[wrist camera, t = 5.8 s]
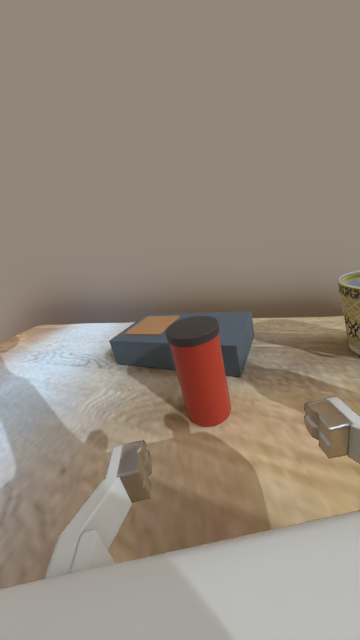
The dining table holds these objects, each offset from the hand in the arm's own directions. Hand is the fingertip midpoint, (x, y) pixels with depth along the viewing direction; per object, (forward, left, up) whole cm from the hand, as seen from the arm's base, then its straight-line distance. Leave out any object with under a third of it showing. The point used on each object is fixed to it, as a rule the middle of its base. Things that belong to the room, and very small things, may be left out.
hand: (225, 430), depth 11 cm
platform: (-15, +23, -10) cm, 30 cm away
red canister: (-6, +11, -10) cm, 16 cm away
